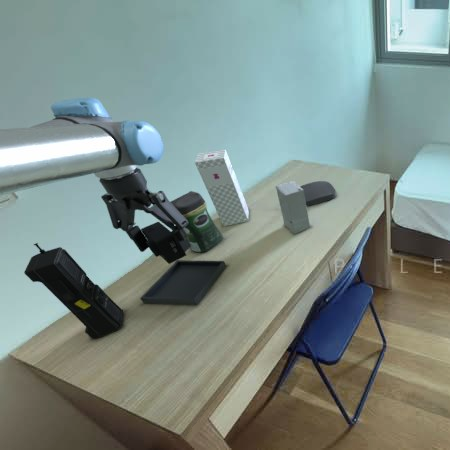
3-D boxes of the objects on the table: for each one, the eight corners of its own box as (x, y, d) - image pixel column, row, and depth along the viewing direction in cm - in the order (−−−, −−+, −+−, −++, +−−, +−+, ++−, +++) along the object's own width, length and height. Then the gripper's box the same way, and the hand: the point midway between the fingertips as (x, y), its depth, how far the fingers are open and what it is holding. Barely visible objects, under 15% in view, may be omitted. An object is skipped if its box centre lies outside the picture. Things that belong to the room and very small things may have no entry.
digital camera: (148, 251, 83) (134, 230, 79) (170, 241, 86) (158, 220, 82) (164, 267, 78) (150, 245, 74) (186, 255, 81) (174, 234, 77)
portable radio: (123, 331, 76) (53, 254, 62) (92, 343, 73) (11, 266, 59) (124, 310, 81) (61, 235, 67) (96, 321, 79) (23, 246, 64)
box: (225, 214, 119) (198, 153, 104) (248, 209, 121) (225, 149, 107) (223, 226, 112) (194, 162, 98) (248, 220, 115) (223, 157, 100)
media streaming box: (303, 208, 120) (302, 201, 119) (294, 193, 131) (292, 186, 129) (338, 197, 126) (337, 191, 124) (327, 184, 137) (326, 178, 135)
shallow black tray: (197, 305, 82) (193, 299, 81) (143, 303, 83) (139, 298, 82) (226, 266, 94) (224, 260, 93) (180, 265, 96) (177, 260, 94)
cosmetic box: (284, 225, 112) (272, 186, 102) (302, 217, 115) (292, 179, 106) (294, 235, 106) (282, 195, 97) (313, 226, 110) (303, 187, 101)
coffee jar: (211, 233, 109) (188, 187, 98) (227, 238, 106) (205, 191, 95) (186, 250, 102) (158, 201, 91) (202, 255, 99) (176, 206, 88)
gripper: (179, 165, 71) (216, 240, 83) (85, 165, 72) (136, 239, 85) (156, 180, 64) (199, 259, 77) (54, 180, 66) (113, 257, 79)
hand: (166, 248), depth 81 cm, fingers closed on digital camera, 11 cm apart
